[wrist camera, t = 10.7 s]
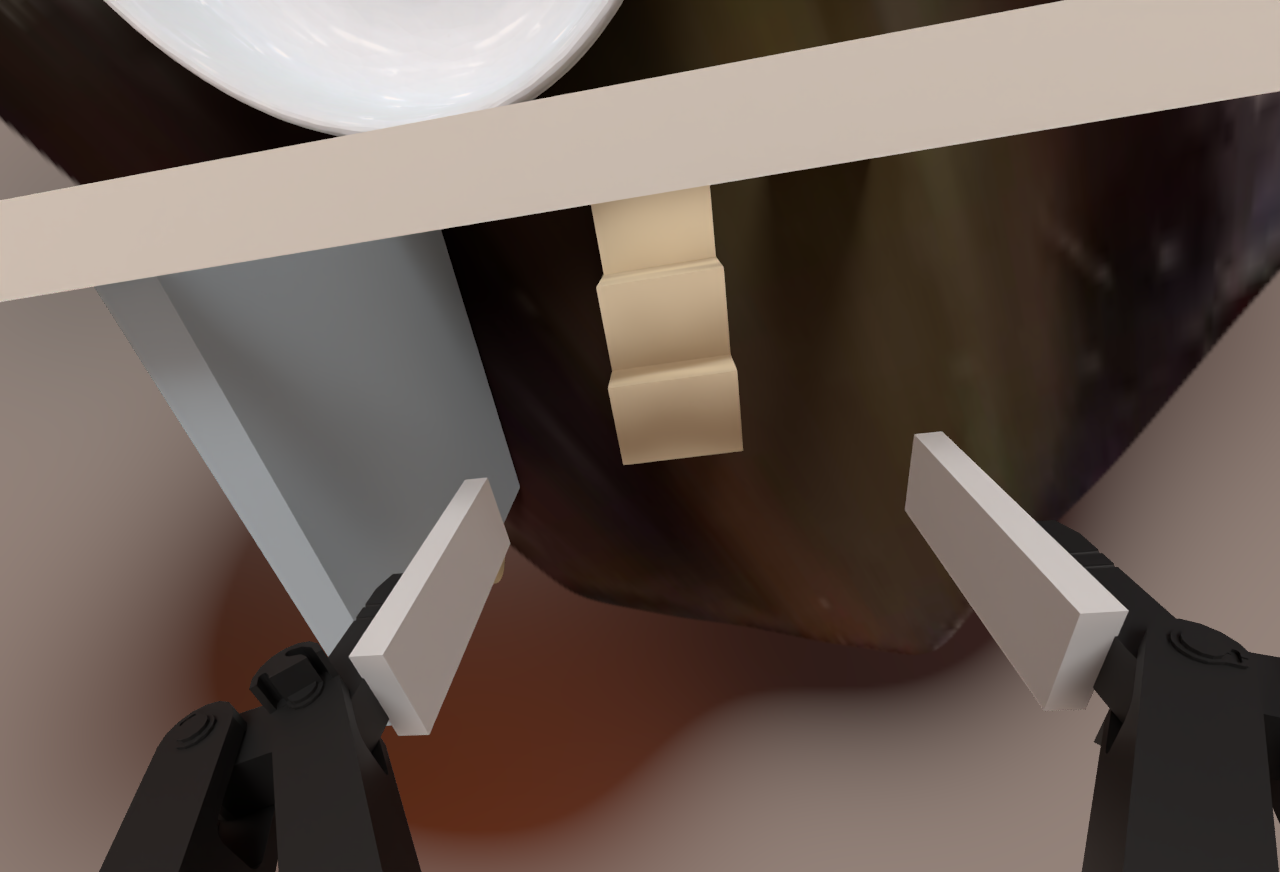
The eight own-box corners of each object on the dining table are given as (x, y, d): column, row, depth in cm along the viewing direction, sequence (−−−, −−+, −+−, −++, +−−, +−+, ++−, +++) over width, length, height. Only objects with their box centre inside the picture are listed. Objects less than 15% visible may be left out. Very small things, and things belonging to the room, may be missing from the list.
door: (545, 484, 30) (456, 721, 17) (496, 489, 31) (372, 726, 17) (464, 194, 23) (199, 212, 10) (402, 205, 23) (63, 237, 10)
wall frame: (875, 110, 21) (1400, -63, 6) (872, 149, 22) (1341, 81, 7) (333, 204, 24) (-234, 244, 9) (346, 237, 24) (-160, 328, 9)
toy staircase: (598, 199, 23) (571, 206, 16) (703, 180, 23) (723, 180, 16) (632, 393, 28) (623, 465, 21) (721, 381, 27) (742, 450, 20)
